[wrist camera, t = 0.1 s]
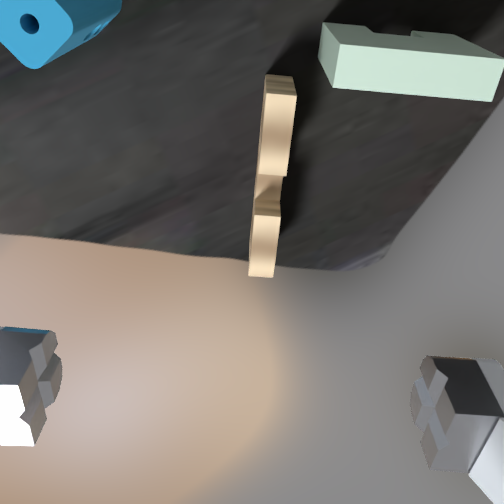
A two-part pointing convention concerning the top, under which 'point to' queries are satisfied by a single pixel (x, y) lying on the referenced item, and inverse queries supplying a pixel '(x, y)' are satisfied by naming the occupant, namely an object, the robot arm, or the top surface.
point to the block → (51, 26)
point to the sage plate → (408, 63)
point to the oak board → (271, 172)
